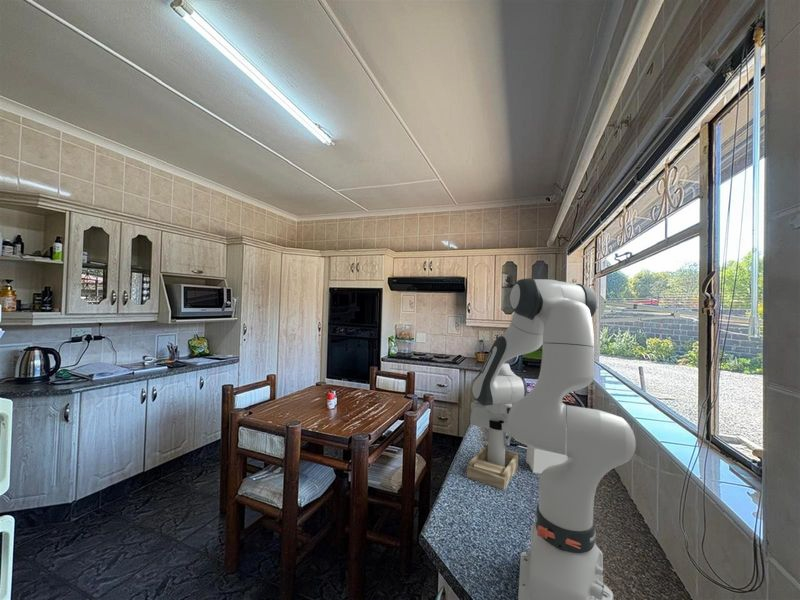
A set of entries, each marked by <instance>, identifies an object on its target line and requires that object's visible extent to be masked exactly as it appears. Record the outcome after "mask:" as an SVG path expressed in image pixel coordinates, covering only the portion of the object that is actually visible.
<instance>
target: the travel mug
mask: <svg viewBox="0 0 800 600" xmlns="http://www.w3.org/2000/svg"><path fill="white" fill-rule="evenodd" d="M501 423H504V421H499V422H498V421H492V420H489V424H490V425H489V429H488V431H487V434H488V440H487V444H488V460H487V462H490V463H493V464H496V465H500V466H503V467H506V465H505V449H506V445H504V443H505V442H504V440H505V439H507V438H506V435H507V433H503V432H502V424H501Z"/></svg>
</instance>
